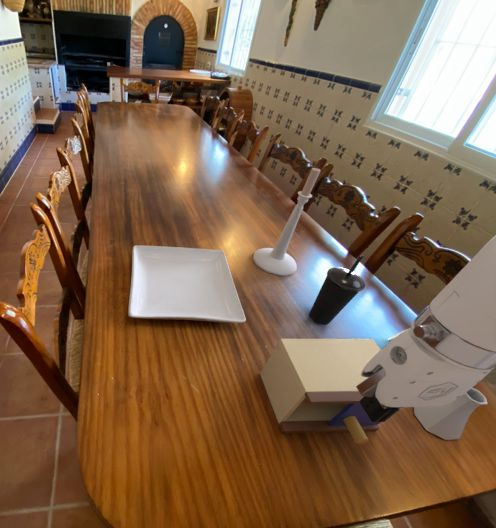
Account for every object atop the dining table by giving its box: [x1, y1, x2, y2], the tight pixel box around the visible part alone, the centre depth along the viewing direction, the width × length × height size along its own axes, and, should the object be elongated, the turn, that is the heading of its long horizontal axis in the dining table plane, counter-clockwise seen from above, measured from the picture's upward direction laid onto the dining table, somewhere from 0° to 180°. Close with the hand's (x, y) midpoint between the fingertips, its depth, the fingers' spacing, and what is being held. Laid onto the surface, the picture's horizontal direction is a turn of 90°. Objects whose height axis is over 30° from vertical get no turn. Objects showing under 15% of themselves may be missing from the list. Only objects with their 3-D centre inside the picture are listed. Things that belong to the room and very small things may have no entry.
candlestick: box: [252, 167, 321, 277], centre depth 82 cm, size 13×13×30 cm
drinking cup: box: [308, 254, 366, 326], centre depth 68 cm, size 8×8×20 cm
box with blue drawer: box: [259, 338, 382, 434], centre depth 54 cm, size 12×18×12 cm, turn 93°
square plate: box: [127, 245, 247, 324], centre depth 78 cm, size 27×27×4 cm
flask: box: [413, 387, 489, 441], centre depth 53 cm, size 7×7×10 cm
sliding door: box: [328, 403, 401, 445], centre depth 49 cm, size 4×9×9 cm, turn 93°
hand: (370, 411), depth 44 cm, fingers closed
